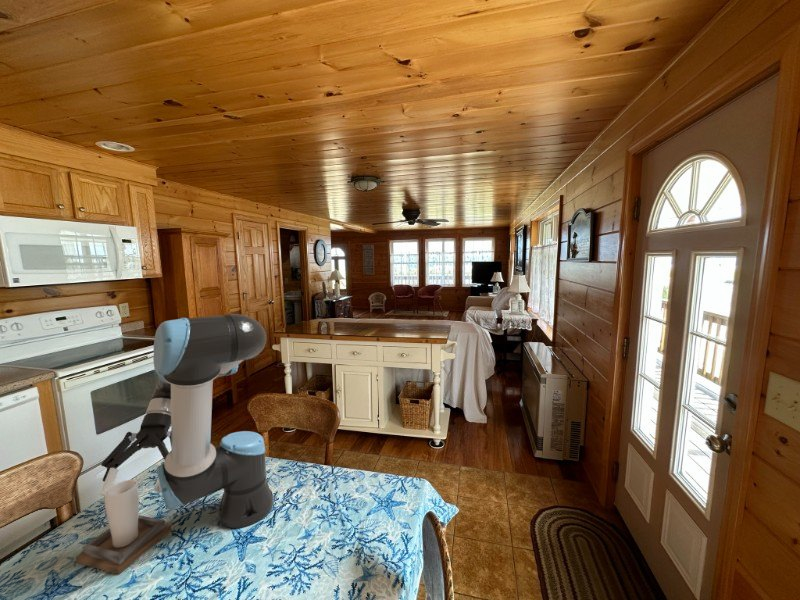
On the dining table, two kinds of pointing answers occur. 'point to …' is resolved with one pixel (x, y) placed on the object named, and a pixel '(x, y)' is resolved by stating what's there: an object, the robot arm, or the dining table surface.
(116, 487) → the white cup
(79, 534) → the dining table surface
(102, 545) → the collar board
